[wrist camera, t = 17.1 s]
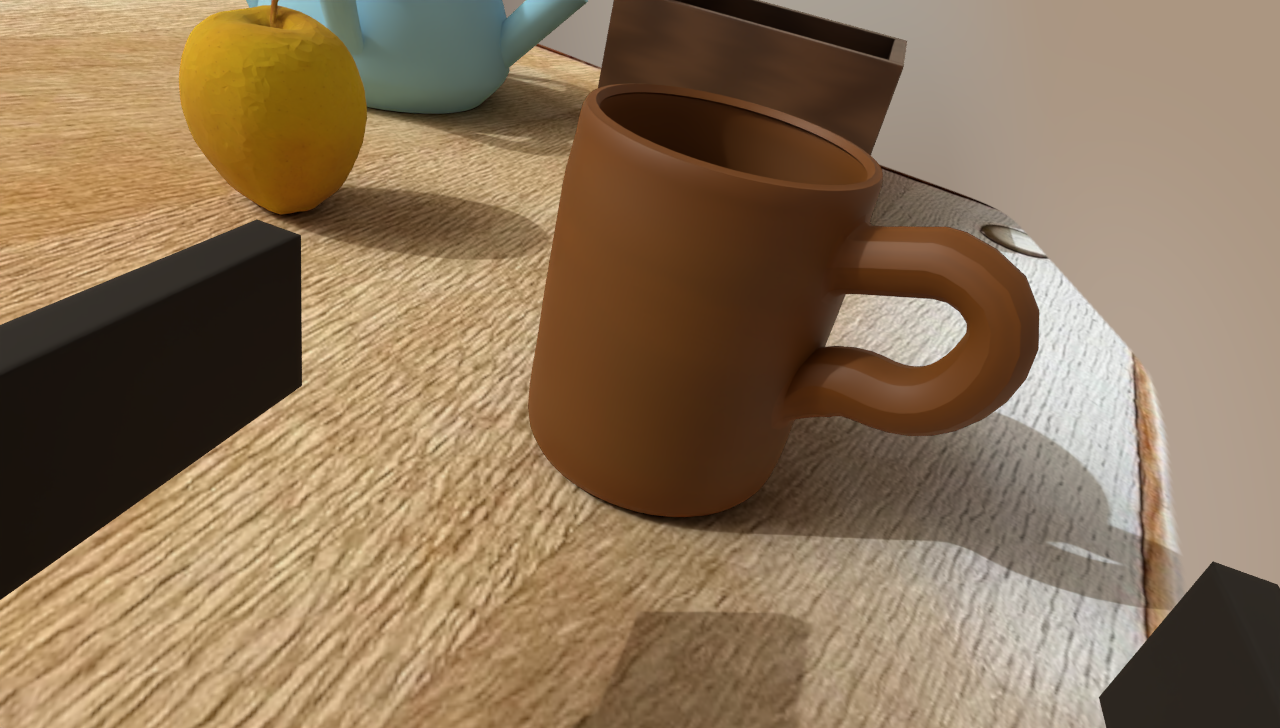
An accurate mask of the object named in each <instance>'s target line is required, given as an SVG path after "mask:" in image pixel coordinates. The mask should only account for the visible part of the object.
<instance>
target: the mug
mask: <svg viewBox="0 0 1280 728" xmlns="http://www.w3.org/2000/svg"><path fill="white" fill-rule="evenodd" d="M882 183H883V173H882V170H881V167H880V166H879V164H878V163H877V162H876V161H875V160H874V159H873V158H872V157H871V156H870V155H869V154H868V153H866V152H865V151H864V150H863V149H861V148H860V147H858V146H856V145H855V144H853V143H852V142H850V141H848V140H846V139H844V138H843V137H841V136H839V135H837V134H835V133H833V132H831V131H829V130H826V129H824V128H822V127H820V126H817V125H815V124H813V123H810V122H808V121H805V120H803V119H800V118H797V117H794V116H792V115H789V114H786V113H783V112H780V111H777V110H774V109H771V108H768V107H765V106H761V105H758V104H754V103H751V102H747V101H743V100H740V99H736V98H732V97H728V96H723V95H719V94H714V93H710V92H705V91H699V90H694V89H688V88H681V87H674V86H665V85H654V84H616V85H608V86H604V87H600V88H598V89H595V90H593V91H592V92H591V93H590V94H589V95H588V96H587V97H586V99H585V100H584V102H583V105H582V108H581V112H580V116H579V120H578V125H577V130H576V134H575V137H574V141H573V145H572V148H571V152H570V155H569V159H568V163H567V166H566V171H565V176H564V181H563V185H562V191H561V197H560V203H559V209H558V215H557V221H556V226H555V232H554V238H553V244H552V250H551V256H550V262H549V268H548V273H547V279H546V285H545V291H544V298H543V304H542V311H541V318H540V325H539V332H538V338H537V344H536V350H535V356H534V361H533V367H532V373H531V380H530V389H529V402H528V409H529V419H530V426H531V429H532V432H533V435H534V437H535V439H536V441H537V443H538V445H539V446H540V448H541V450H542V452H543V454H544V455H545V456H546V457H547V459H548V460H549V461H550V463H551V464H552V465H553V466H554V467H555V468H556V469H557V470H558V471H559V472H560V473H561V474H562V475H564V476H565V477H566V478H567V479H569V480H570V481H571V482H572V483H574V484H575V485H577V486H578V487H580V488H582V489H583V490H585V491H586V492H588V493H590V494H592V495H594V496H596V497H598V498H600V499H602V500H604V501H607V502H609V503H612V504H614V505H617V506H619V507H623V508H626V509H630V510H633V511H636V512H641V513H646V514H651V515H658V516H668V517H695V516H704V515H709V514H714V513H718V512H721V511H724V510H727V509H730V508H732V507H734V506H736V505H738V504H740V503H742V502H744V501H745V500H747V499H748V498H750V497H751V496H752V495H754V494H755V493H756V492H758V490H759V489H760V488H761V487H762V486H763V485H764V484H765V482H766V481H767V480H768V478H769V477H770V475H771V473H772V472H773V470H774V468H775V466H776V464H777V462H778V460H779V458H780V456H781V454H782V451H783V449H784V447H785V444H786V442H787V439H788V437H789V434H790V431H791V429H792V426H793V423H794V421H795V419H801V418H810V417H832V416H843V417H846V418H848V419H851V420H854V421H856V422H859V423H861V424H864V425H866V426H869V427H872V428H875V429H878V430H882V431H885V432H888V433H894V434H900V435H906V436H933V435H938V434H943V433H949V432H954V431H957V430H959V429H962V428H964V427H966V426H969V425H971V424H973V423H976V422H978V421H980V420H982V419H984V418H986V417H987V416H988V415H990V414H991V413H992V412H994V411H995V410H997V409H998V408H999V407H1001V406H1002V405H1003V404H1005V403H1006V402H1007V401H1008V400H1009V399H1010V398H1011V397H1012V395H1013V394H1014V393H1015V392H1016V391H1017V389H1018V388H1019V387H1020V386H1021V385H1022V383H1023V382H1024V381H1025V380H1026V378H1027V376H1028V373H1029V371H1030V369H1031V366H1032V364H1033V361H1034V359H1035V356H1036V354H1037V352H1038V343H1039V309H1038V306H1037V304H1036V301H1035V298H1034V296H1033V293H1032V291H1031V288H1030V285H1029V283H1028V280H1027V278H1026V276H1025V275H1024V274H1023V273H1022V272H1021V271H1020V270H1019V269H1018V268H1016V267H1015V266H1014V265H1013V264H1012V263H1011V262H1010V261H1009V260H1008V259H1007V258H1006V257H1005V256H1004V255H1003V254H1002V253H1001V252H999V251H998V250H997V249H996V248H994V247H992V246H990V245H989V244H987V243H985V242H983V241H982V240H980V239H978V238H976V237H975V236H973V235H971V234H969V233H968V232H964V231H961V230H957V229H954V228H950V227H882V226H873V225H872V224H871V223H870V221H871V217H872V214H873V211H874V208H875V205H876V202H877V200H878V197H879V194H880V190H881V187H882ZM845 294H865V295H880V296H896V297H911V298H927V299H935V300H939V301H943V302H947V303H948V304H950V305H951V306H952V307H954V308H955V309H956V310H958V311H959V312H960V313H961V315H962V316H963V318H964V320H965V321H966V323H967V333H966V334H965V335H964V337H963V338H962V339H961V341H960V342H959V343H958V344H957V345H956V347H955V348H954V349H952V350H951V351H950V352H949V353H948V354H947V355H946V356H945V357H943V358H942V359H940V360H939V361H937V362H935V363H933V364H931V365H927V366H917V367H914V366H908V365H903V364H901V363H898V362H895V361H893V360H891V359H889V358H887V357H885V356H882V355H880V354H877V353H875V352H872V351H868V350H864V349H860V348H855V347H844V346H830V347H825V345H826V342H827V340H828V337H829V335H830V332H831V330H832V327H833V325H834V323H835V320H836V318H837V315H838V313H839V310H840V307H841V305H842V302H843V299H844V297H845Z"/></svg>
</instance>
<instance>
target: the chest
mask: <svg viewBox="0 0 1280 728" xmlns="http://www.w3.org/2000/svg"><path fill="white" fill-rule="evenodd" d="M906 45H907V41H905V40H902V39H898V38H895V37H891V36H887V35H884V34H880V33H876V32H873V31H869V30H865V29H862V28H858V27H854V26H851V25H847V24H843V23H840V22H836V21H832V20H829V19H825V18H822V17H817V16H814V15H810V14H807V13H803V12H799V11H796V10H792V9H789V8H785V7H781V6H778V5H774V4H770V3H767V2H763V1H759V0H614V2H613V8H612V13H611V19H610V25H609V30H608V35H607V42H606V47H605V52H604V58H603V63H602V68H601V74H600V79H599V85H598V88H600V87H604V86H608V85H616V84H654V85H665V86H674V87H681V88H688V89H694V90H699V91H705V92H710V93H714V94H719V95H723V96H728V97H732V98H736V99H740V100H743V101H747V102H751V103H754V104H758V105H761V106H765V107H768V108H771V109H774V110H777V111H780V112H783V113H786V114H789V115H792V116H794V117H797V118H800V119H803V120H805V121H808V122H810V123H813V124H815V125H817V126H820V127H822V128H824V129H826V130H829V131H831V132H833V133H835V134H837V135H839V136H841V137H843V138H844V139H846V140H848V141H850V142H852V143H853V144H855V145H856V146H858V147H860V148H861V149H863V150H864V151H865V152H866V153H868V154H869V155H871V153H872V150H873V147H874V145H875V142H876V139H877V137H878V134H879V131H880V129H881V126H882V123H883V121H884V118H885V115H886V112H887V110H888V107H889V105H890V102H891V99H892V96H893V94H894V91H895V88H896V86H897V83H898V80H899V78H900V75H901V72H902V70H903V67H904V59H905V52H906Z"/></svg>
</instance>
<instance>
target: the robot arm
mask: <svg viewBox="0 0 1280 728" xmlns="http://www.w3.org/2000/svg"><path fill="white" fill-rule="evenodd" d="M301 386H302V331H301V235H299V234H296V233H293V232H290V231H288V230H285V229H282V228H279V227H276V226H274V225H271V224H268V223H265V222H262V221H260V220H255V221H252V222H250V223H247V224H245V225H243V226H240V227H238V228H235V229H233V230H230V231H228V232H226V233H223V234H221V235H218V236H216V237H213V238H211V239H209V240H206V241H204V242H201V243H199V244H196V245H194V246H192V247H189V248H187V249H184V250H182V251H179V252H177V253H174V254H172V255H170V256H167V257H165V258H162V259H160V260H157V261H155V262H153V263H150V264H148V265H145V266H143V267H140V268H138V269H136V270H133V271H131V272H128V273H126V274H123V275H121V276H119V277H116V278H114V279H111V280H109V281H106V282H104V283H102V284H99V285H97V286H94V287H92V288H89V289H87V290H84V291H82V292H80V293H77V294H75V295H72V296H70V297H67V298H65V299H63V300H60V301H58V302H55V303H53V304H50V305H48V306H46V307H43V308H41V309H38V310H36V311H33V312H31V313H29V314H26V315H24V316H21V317H19V318H16V319H14V320H12V321H9V322H7V323H4V324H2V325H0V600H1V599H2V598H4V597H5V596H7V595H8V594H9V593H11V592H12V591H14V590H15V589H16V588H18V587H19V586H21V585H22V584H23V583H25V582H26V581H28V580H29V579H30V578H32V577H33V576H35V575H36V574H38V573H39V572H40V571H42V570H43V569H45V568H46V567H47V566H49V565H50V564H52V563H53V562H54V561H56V560H57V559H59V558H60V557H61V556H63V555H64V554H66V553H67V552H68V551H70V550H71V549H73V548H74V547H75V546H77V545H78V544H80V543H81V542H83V541H84V540H85V539H87V538H88V537H90V536H91V535H92V534H94V533H95V532H97V531H98V530H99V529H101V528H102V527H104V526H105V525H106V524H108V523H109V522H111V521H112V520H113V519H115V518H116V517H118V516H119V515H121V514H122V513H123V512H125V511H126V510H128V509H129V508H130V507H132V506H133V505H135V504H136V503H137V502H139V501H140V500H142V499H143V498H144V497H146V496H147V495H149V494H150V493H151V492H153V491H154V490H156V489H157V488H159V487H160V486H161V485H163V484H164V483H166V482H167V481H168V480H170V479H171V478H173V477H174V476H175V475H177V474H178V473H180V472H181V471H182V470H184V469H185V468H187V467H188V466H189V465H191V464H192V463H194V462H195V461H197V460H198V459H199V458H201V457H202V456H204V455H205V454H206V453H208V452H209V451H211V450H212V449H213V448H215V447H216V446H218V445H219V444H220V443H222V442H223V441H225V440H226V439H227V438H229V437H230V436H232V435H233V434H234V433H236V432H237V431H239V430H240V429H242V428H243V427H244V426H246V425H247V424H249V423H250V422H251V421H253V420H254V419H256V418H257V417H258V416H260V415H261V414H263V413H264V412H265V411H267V410H268V409H270V408H271V407H272V406H274V405H275V404H277V403H278V402H280V401H281V400H282V399H284V398H285V397H287V396H288V395H289V394H291V393H292V392H294V391H295V390H296V389H298V388H299V387H301ZM1099 699H1100V703H1101V707H1102V712H1103V716H1104V720H1105V724H1106V728H1280V588H1279V586H1278V585H1277V584H1274V583H1271V582H1269V581H1266V580H1263V579H1260V578H1258V577H1255V576H1252V575H1249V574H1246V573H1243V572H1241V571H1238V570H1235V569H1232V568H1230V567H1227V566H1224V565H1221V564H1219V563H1216V562H1212V563H1211V564H1210V566H1209V567H1208V568H1207V569H1206V570H1205V572H1204V573H1203V574H1202V575H1201V576H1200V577H1199V579H1198V580H1197V581H1196V582H1195V583H1194V585H1193V586H1192V587H1191V588H1190V589H1189V591H1188V592H1187V593H1186V594H1185V595H1184V597H1183V598H1182V599H1181V600H1180V601H1179V602H1178V604H1177V605H1176V606H1175V607H1174V608H1173V610H1172V611H1171V612H1170V613H1169V614H1168V616H1167V617H1166V618H1165V619H1164V620H1163V622H1162V623H1161V624H1160V625H1159V626H1158V628H1157V629H1156V630H1155V631H1154V632H1153V633H1152V635H1151V636H1150V637H1149V638H1148V639H1147V641H1146V642H1145V643H1144V644H1143V645H1142V647H1141V648H1140V649H1139V650H1138V651H1137V653H1136V654H1135V655H1134V656H1133V657H1132V659H1131V660H1130V661H1129V662H1128V663H1127V664H1126V666H1125V667H1124V668H1123V669H1122V670H1121V672H1120V673H1119V674H1118V675H1117V676H1116V678H1115V679H1114V680H1113V681H1112V682H1111V684H1110V685H1109V686H1108V687H1107V688H1106V690H1105V691H1104V692H1103V693H1102V694H1101V695H1100V697H1099Z"/></svg>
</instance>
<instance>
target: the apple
mask: <svg viewBox="0 0 1280 728" xmlns="http://www.w3.org/2000/svg"><path fill="white" fill-rule="evenodd" d="M278 1H279V0H271V5H262V6H257V7H252V8H246V9H239V10H231V11H224V12H219V13H216V14H213V15H211V16H209V17H208V18H206V19H205V20H204V21H202V22H201V23H199V24H198V25H197V26H196V27H195V28H194V29H193V31H192V32H191V33H190V35H189V37H188V39H187V42H186V45H185V48H184V51H183V54H182V58H181V64H180V72H179V89H180V100H181V105H182V109H183V113H184V116H185V119H186V121H187V124H188V127H189V130H190V132H191V134H192V136H193V138H194V140H195V142H196V143H197V145H198V146H199V148H200V149H201V151H202V152H203V153H204V155H205V156H206V157H207V159H208V160H209V161H210V162H211V164H212V165H213V166H214V167H215V168H216V170H217V171H218V172H219V173H220V175H221V176H222V177H223V178H224V179H225V180H226V181H227V182H228V184H229V185H231V186H232V187H233V188H234V189H235V190H237V191H238V192H240V193H241V194H242V195H244V196H245V197H247V198H248V199H250V200H251V201H253V202H254V203H256V204H258V205H260V206H262V207H264V208H265V209H267V210H268V211H271V212H274V213H277V214H281V215H282V214H288V213H294V212H298V211H308V210H310V209H314V208H315V207H317V206H318V205H319V204H320V203H322V202H323V201H324V200H325V199H327V198H329V197H330V196H332V195H333V194H334V193H335V192H336V191H338V190H339V188H340V187H341V186H342V185H343V183H344V182H345V180H346V179H347V177H348V175H349V173H350V171H351V170H352V168H353V165H354V163H355V161H356V159H357V157H358V154H359V151H360V148H361V146H362V143H363V138H364V133H365V126H366V121H367V104H366V98H365V90H364V86H363V82H362V80H361V77H360V74H359V71H358V68H357V66H356V63H355V61H354V59H353V57H352V55H351V54H350V52H349V51H348V49H347V47H346V46H345V45H344V43H343V42H342V41H341V40H340V39H339V38H338V36H336V35H335V34H334V33H333V32H331V31H330V30H329V29H328V28H326V27H325V26H324V25H323V24H321V23H320V22H318V21H317V20H315V19H314V18H312V17H310V16H308V15H306V14H304V13H302V12H300V11H296V10H293V9H290V8H287V7H283V6H278Z"/></svg>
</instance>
